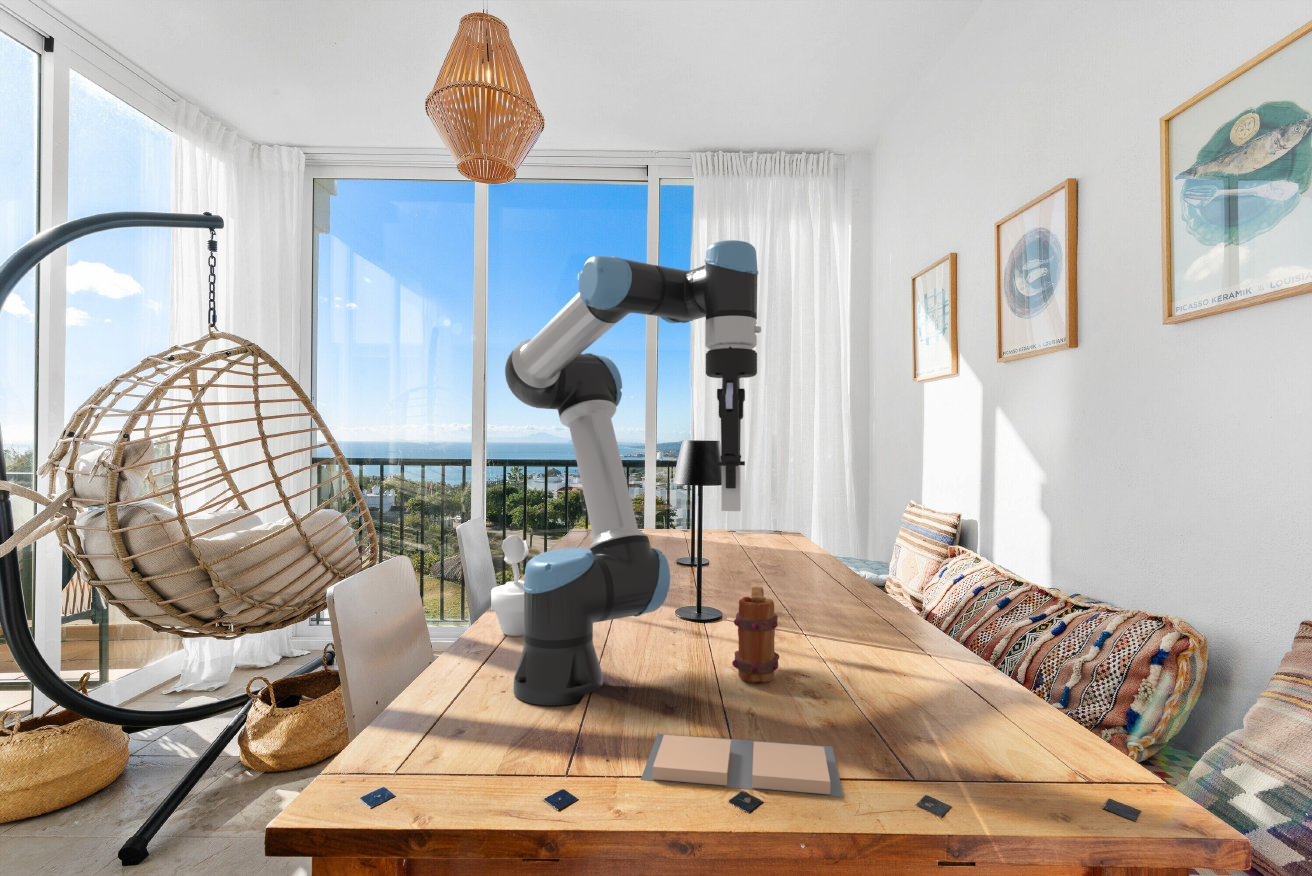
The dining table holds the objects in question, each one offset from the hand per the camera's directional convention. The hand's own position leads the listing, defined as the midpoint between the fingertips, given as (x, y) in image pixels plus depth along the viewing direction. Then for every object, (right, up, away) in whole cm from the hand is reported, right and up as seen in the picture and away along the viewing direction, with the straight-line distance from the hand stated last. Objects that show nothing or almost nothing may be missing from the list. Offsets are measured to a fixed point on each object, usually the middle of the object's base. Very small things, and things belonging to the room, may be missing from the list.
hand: (731, 510), depth 97 cm
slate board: (0, -32, -12) cm, 34 cm away
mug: (+8, -33, +24) cm, 41 cm away
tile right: (+6, -30, -10) cm, 33 cm away
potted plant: (-42, -33, +51) cm, 73 cm away
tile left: (-5, -30, -8) cm, 32 cm away
